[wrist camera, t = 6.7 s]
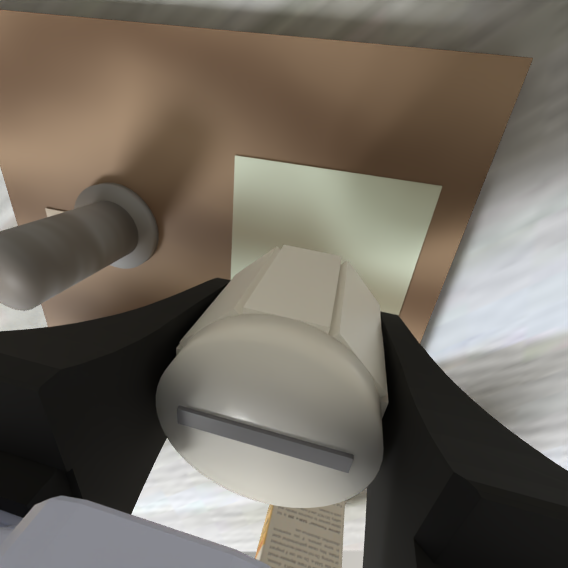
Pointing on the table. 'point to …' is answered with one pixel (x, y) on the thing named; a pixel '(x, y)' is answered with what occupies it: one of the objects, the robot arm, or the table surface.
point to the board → (234, 159)
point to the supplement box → (302, 537)
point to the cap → (282, 383)
